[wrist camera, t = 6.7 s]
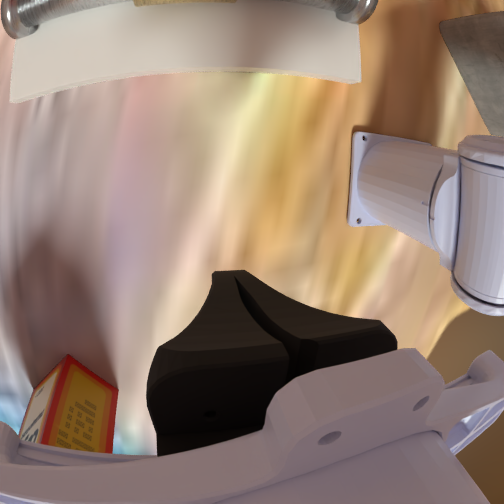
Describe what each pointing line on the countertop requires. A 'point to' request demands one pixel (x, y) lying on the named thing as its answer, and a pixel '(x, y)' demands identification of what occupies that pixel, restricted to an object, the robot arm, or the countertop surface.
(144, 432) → the countertop surface
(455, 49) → the hip flask
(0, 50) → the countertop surface
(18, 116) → the countertop surface
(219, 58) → the mounting board
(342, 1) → the ball valve
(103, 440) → the baking soda box
